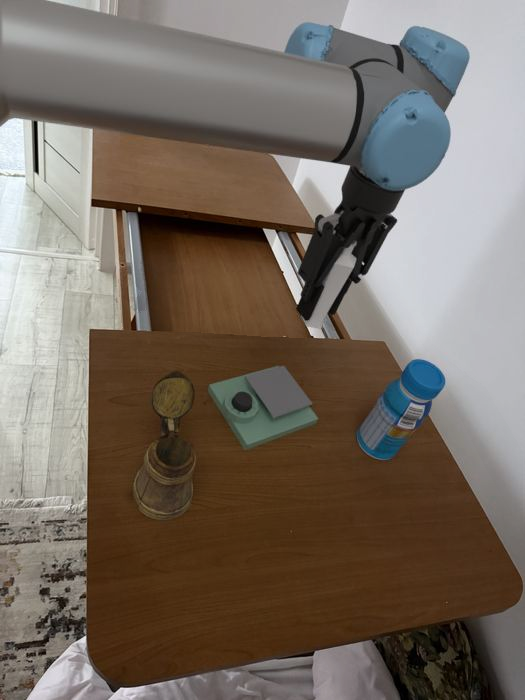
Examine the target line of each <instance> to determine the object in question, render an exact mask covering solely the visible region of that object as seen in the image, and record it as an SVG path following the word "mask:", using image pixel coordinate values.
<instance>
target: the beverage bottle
mask: <svg viewBox="0 0 525 700" xmlns="http://www.w3.org/2000/svg"><path fill="white" fill-rule="evenodd" d="M445 386H446V377H445V375H444V373H443V371H442V370H441V369H440V368H439V367H438V366H437V365H436V364H434V363H432V362H430V361H428V360H425V359H421V358H416V359H411V360H410V361H409V362H408V363H407V365H406V366H405V367H404V369H403V370H402V372H401V374H400V377H399V378H396V379H394V380H393V381H391V382H389V383H388V385H387V386H386V388H385V390H384V391H382V392H381V393H380V395H379V396H378V398H377V401H376V403H375V404H374V406H373V408H372V409H371V410H370V412H369V413H368V415H367V416H366V418H365V419H364V421H363V422H362V424H361V425H359V427H358V429H357V431H356V441H357V444H358V446H359V447H360V449H361V450H362V451H363V452H364V453H365V454H366V455H367V456H368V457H371V458H372V459H375V460H379V461H388V460H391V459H393V458H394V457H395V456H396V455H397V453H398V452H399V451H400V450H401V448H402V447H403V445H405V443H406V442H407V441H408V440H409V438H410V437H411V436H412V435H413V433H414V432H415V431H416V430H417V429H418V428H420V426H421V425H423V423H424V420H425V418H426V417H428V415H429V414H430V413H431V410H432V405H433V400H435V399H436V398H437V397H438V396H439V394H440V393H441V392H442V390H443V389H444V388H445Z"/></svg>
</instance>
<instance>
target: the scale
mask: <svg viewBox="0 0 525 700" xmlns="http://www.w3.org/2000/svg"><path fill="white" fill-rule="evenodd" d="M277 367H280V365H276V366H272V367H268V368H265V369H262V370H257V371H254V372H251V373H247V374H243V375H239V376H236V377H231V378H229V379H225V380H221V381H218V382H214V383H210V384H209V385H208V387H207V389H206V391H207V393H208V394H209V396H210V397H211V398H212V400H213V402H214V404H215V405H216V407H217V408H218V410H219V411H220V413H221V415H222V416H223V418H224V419H225V421H226V422H227V424H228V426H229V428H230V429H231V431H232V432H233V434H234V436H235V437H236V439H237V441H238V442H239V444H240V445H241V446H242V448H243V450H244V451H247V450H250V449H252V448H256V447H258V446H260V445H263V444H266V443H268V442H271V441H274V440H277V439H279V438H282V437H284V436H287V435H290V434H292V433H295V432H298V431H301V430H304V429H306V428H308V427H311V426H315V425H316V424H317V423H318V421H319V417H318V416H317V415H316V413H315V412H314V410H313V409H312V407H311V406H310V407H307V408H305V409H302V410H299V411H296V412H293V413H290V414H287V415H284V416H281V417H278V418H276V419H272V418H271V416H270V415H269V413H268V412H267V410H266V409H265V407H264V406H263V404H262V403H261V402H260V400H259V399H258V397H257V396H256V394H255V393H254V391H253V390H252V388H251V387H250V386H249V384H248V383H247V381H246V380H245V376H248V375H251V374H255V373H259V372H262V371H266V370H270V369H273V368H277ZM238 392H247V393H248V394H250V395H251V397H252V399H253V401H252V404H251V406H250V409H249V410H248V411H246V412H240V411H238V410H236V409H235V408H234V407H233V400H234V397H235V395H236V393H238Z"/></svg>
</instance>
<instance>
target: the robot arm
mask: <svg viewBox="0 0 525 700" xmlns="http://www.w3.org/2000/svg"><path fill="white" fill-rule="evenodd" d="M470 56H471V55H470V51H469V49H468V47H467V46H466V45H464V43H462V42H460V41H459V40H457V39H455V38H453V37H452V36H449V35H447V34H445V33H442V32H439V31H437V30H435V29H431V28H428V27H425V26H420V25H413V26H410V27H409V28H408V29H407V30H406V31H405V34H404V35H403V37H402V39H401V40H400V41H399V43H398V44H390V43H386V42H382V41H380V40H376V39H373V38H369V37H365V36H363V35H359V34H356V33H352V32H349V31H346V30H343V29H340V28H336V27H335V26H334V25H332V24H329V25H325V24H319V23H315V22H309V21H306V22H302V23H300V24H299V25H297V27H295V28H294V30H293V31H292V33H291V35H290V36H289V38H288V40H287V43H286V46H285V48H284V51H279V50H275V49H270V48H266V47H262V46H257V45H252V44H247V43H244V42H240V41H239V42H238V41H235V40H229V39H225V38H221V37H216V36H211V35H208V34H207V35H206V34H203V33H198V32H193V31H189V30H184V29H179V28H175V27H170V26H166V25H161V24H157V23H154V22H147V21H143V20H139V19H134V18H129V17H125V16H120V15H116V14H111V13H107V12H102V11H98V10H93V9H89V8H85V7H79V6H75V5H70V4H65V3H61V2H57V1H53V0H0V128H1V127H2V126H4V124H5V123H7V122H8V121H10V120H12V119H19V120H26V121H32V122H40V123H45V124H46V123H47V124H54V125H60V126H61V125H62V126H68V127H76V128H82V129H89V130H96V131H104V132H110V133H111V132H112V133H119V134H126V135H133V136H140V137H146V138H152V139H153V138H154V139H159V140H161V139H162V140H167V141H175V142H182V143H189V144H196V145H202V146H209V147H210V146H211V147H218V148H225V149H232V150H239V151H247V152H253V153H261V154H267V155H273V156H274V155H276V156H281V157H288V158H297V159H303V160H310V161H317V162H325V163H331V164H337V165H343V166H348V167H349V168H348V170H347V173H346V175H345V178H344V180H343V182H342V185H341V188H340V189H341V190H340V191H341V201H340V203H339V204H338V206H336V208H335V209H334V212H333V214H330V215H328V216H326V217H325V216H324V215H323V214H322V213H320V214H318V215H317V216H316V217H315V218H314V228H313V232H312V235H311V237H310V240H309V243H308V245H307V247H306V250H305V252H304V255H303V258H302V260H301V262H300V265H299V268H298V271H297V275H298V276H299V277H300V278H301V279H302V280H303V281H304V285H303V288H302V290H301V291H300V298H299V301H298V304H297V306H296V307H295V309H296V312H297V313H298V314H299V315H300V317H301V316H302V317H303V318H304V319H305V321H307V320H310V318H311V316H312V313H313V311H314V309H315V307H316V305H317V302H318V300H319V298H320V296H321V294H322V292H323V289H324V286H323V284H322V283H323V281H324V279H325V278H326V276H327V275H328V273H329V272H330V270H331V269H332V267H333V266H334V263H336V261H337V260H338V258H339V256H340V255H341V253H342V252H343V250H344V249H345V248H349V247H350V245H351V244H352V242H353V241H354V240H355V241H357V244H356V246H354V248H353V250H352V252H351V254H352V255H353V256H355V257H356V263H355V266H354V268H353V270H352V271H351V273H350V275H349V277H348V278H347V280H346V282H345V283H344V285H343V287H342V289H341V290H340V292H339V294H338V295H337V297H336V299H335V301H334V302H333V304H332V306H331V307H330V309H329V311H328V313H329V314H330V315H331V316H334V315H336V313H337V311H338V309H339V307H340V305H341V303H342V301H343V300H344V297H345V295H346V294H347V293H348V291H349V289H350V287H351V286H352V284H355V285H357V284H359V283H360V282H361V280H362V279H361V278H360V275H361V276H362V277H364V276H366V275H367V274H368V272H369V271H370V269H371V267H372V266H373V263H374V261H375V259H376V257H377V255H378V254H379V252H380V250H381V248H382V246H383V244H384V242H385V241H386V238H387V237H388V235H389V233H390V232H391V231H392V229H393V228H394V227H395V225H396V224H397V223H398V219H397V218H396V217H395V216H394V214H393V215H392V213H394V211H395V210H396V209H397V207H398V205H399V203H400V202H401V199H402V197H403V195H404V193H405V191H406V190H408V189H411V188H414V187H416V186H418V185H419V184H422V183H423V182H424V181H426V180H427V179H429V177H431V176H432V175H433V174H434V173H435V172H436V171H437V169H439V166H440V165H441V163H442V162H443V159H444V158H445V157H446V153H447V152H448V150H449V147H450V143H451V136H452V135H451V134H452V133H451V132H452V131H451V124H450V121H449V119H448V117H447V115H446V112H447V109H448V108H449V106H450V104H451V102H452V100H453V99H454V97H456V95H457V90H458V88H459V86H460V84H461V81H462V79H463V77H464V75H465V73H466V70H467V67H468V64H469V62H470ZM302 317H301V318H302Z"/></svg>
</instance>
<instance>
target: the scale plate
mask: <svg viewBox="0 0 525 700" xmlns="http://www.w3.org/2000/svg"><path fill="white" fill-rule="evenodd" d="M245 380H246V381H247V383H248V384H249V386H250V387H251V388H252V390H253V391H254V393H255V394H256V396H257V397H258V399H259V400H260V402H261V403H262V404H263V406H264V407H265V409H266V410H267V412H268V413H269V415H270V416H271V418H272V419H276V418H278V417H281V416H284V415H287V414H290V413H293V412H296V411H299V410H302V409H305V408H307V407H310V408H311V407H313V405H314V404H313V402H312V401H311V399H310V398H309V396H307V394H306V392H305V391H304V390H303V389H302V387H301V386H300V385H299V384H298V382H297V381H296V380H295V378H294V377H293V376H292V374H291V373H290V372H289V370H288V369H287V368H286V366H285V365H279V367H277V368H273V369H270V370H266V371H262V372H259V373H255V374H251V375H248V376H245Z"/></svg>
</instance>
